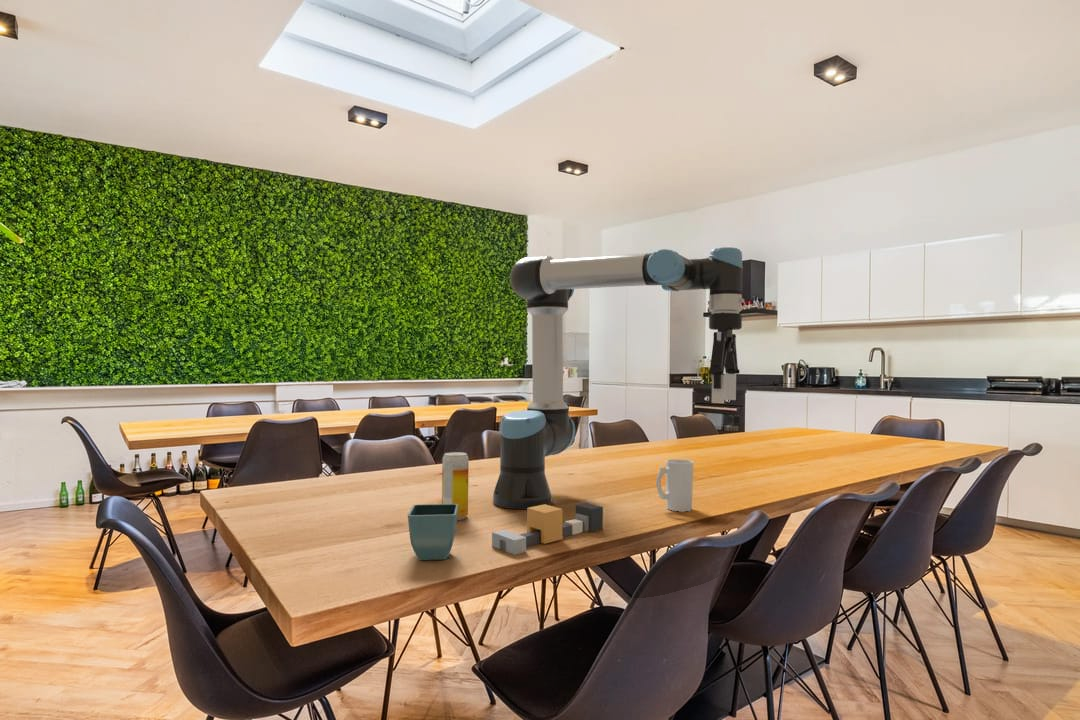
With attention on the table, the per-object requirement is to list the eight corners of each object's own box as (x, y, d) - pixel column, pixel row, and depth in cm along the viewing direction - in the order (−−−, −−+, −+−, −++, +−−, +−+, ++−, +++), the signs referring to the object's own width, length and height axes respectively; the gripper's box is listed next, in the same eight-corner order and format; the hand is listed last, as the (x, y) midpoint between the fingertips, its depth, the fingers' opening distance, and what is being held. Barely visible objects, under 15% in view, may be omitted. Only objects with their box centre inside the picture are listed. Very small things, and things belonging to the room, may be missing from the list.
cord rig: (514, 554, 117) (514, 528, 117) (491, 546, 122) (492, 521, 122) (605, 530, 134) (606, 507, 134) (583, 523, 140) (583, 501, 140)
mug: (682, 504, 159) (683, 458, 159) (698, 511, 152) (698, 462, 152) (649, 508, 155) (649, 460, 155) (663, 514, 149) (664, 465, 149)
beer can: (472, 516, 145) (473, 452, 145) (458, 522, 140) (459, 456, 140) (451, 513, 148) (451, 451, 148) (436, 518, 142) (437, 454, 142)
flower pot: (412, 549, 120) (413, 503, 120) (458, 548, 121) (458, 503, 121) (406, 564, 111) (407, 515, 111) (455, 563, 112) (456, 514, 112)
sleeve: (544, 543, 123) (544, 513, 123) (526, 537, 127) (527, 507, 127) (562, 539, 127) (562, 509, 127) (544, 533, 131) (545, 504, 131)
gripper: (731, 308, 134) (729, 405, 135) (750, 316, 156) (749, 399, 156) (696, 309, 138) (695, 403, 138) (720, 316, 160) (719, 397, 160)
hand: (724, 401), depth 147 cm, fingers open, 13 cm apart
